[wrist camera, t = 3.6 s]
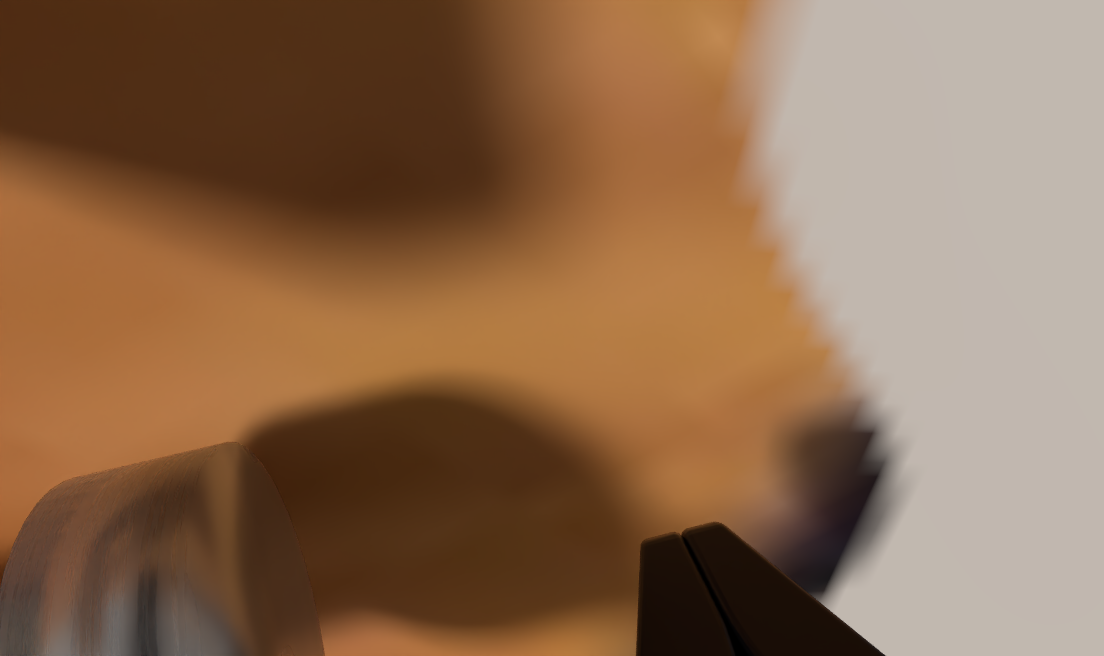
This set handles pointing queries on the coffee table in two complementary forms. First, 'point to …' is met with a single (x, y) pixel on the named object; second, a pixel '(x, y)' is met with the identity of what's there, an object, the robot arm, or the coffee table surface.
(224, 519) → the pin
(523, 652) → the coffee table surface
